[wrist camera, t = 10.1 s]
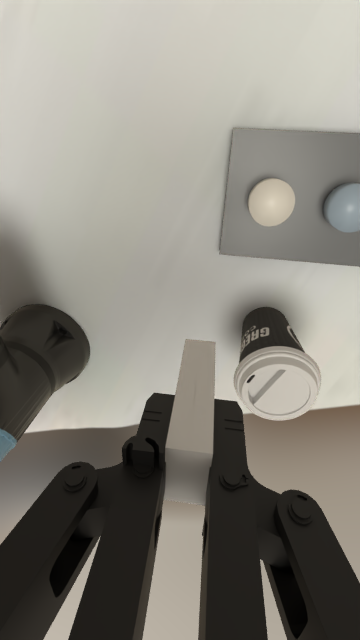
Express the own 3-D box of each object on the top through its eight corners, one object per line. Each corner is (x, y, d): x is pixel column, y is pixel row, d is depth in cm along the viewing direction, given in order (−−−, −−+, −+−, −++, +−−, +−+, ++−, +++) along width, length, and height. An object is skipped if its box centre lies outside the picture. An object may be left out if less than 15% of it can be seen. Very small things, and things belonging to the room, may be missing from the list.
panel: (219, 250, 41) (219, 254, 39) (233, 129, 35) (233, 128, 33) (431, 268, 38) (441, 273, 37) (491, 141, 32) (506, 140, 30)
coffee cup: (275, 285, 42) (295, 341, 29) (310, 333, 45) (343, 404, 32) (220, 319, 46) (216, 383, 33) (255, 362, 49) (264, 436, 36)
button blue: (314, 223, 37) (324, 230, 33) (325, 180, 35) (337, 182, 31) (355, 226, 36) (370, 234, 33) (369, 182, 34) (386, 185, 30)
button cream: (244, 218, 38) (245, 224, 34) (250, 175, 35) (253, 177, 32) (283, 221, 37) (289, 227, 34) (292, 178, 35) (299, 180, 31)
